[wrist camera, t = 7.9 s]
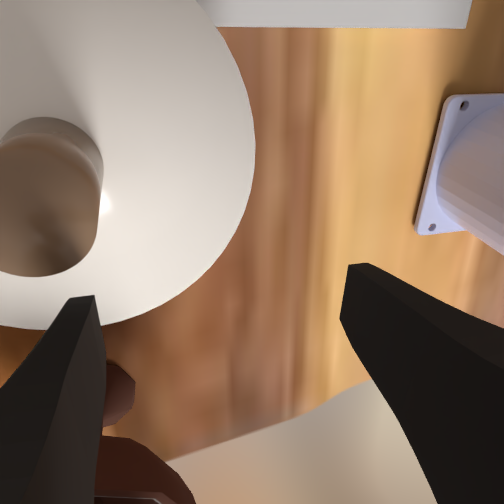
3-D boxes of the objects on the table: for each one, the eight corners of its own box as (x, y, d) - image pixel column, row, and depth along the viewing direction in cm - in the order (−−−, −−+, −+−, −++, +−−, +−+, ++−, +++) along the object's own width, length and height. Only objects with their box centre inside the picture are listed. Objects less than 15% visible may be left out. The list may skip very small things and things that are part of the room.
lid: (269, -56, 12) (339, -81, 8) (235, 304, 19) (264, 387, 15) (-320, -149, 9) (-674, -266, 5) (-118, 331, 15) (-203, 448, 11)
